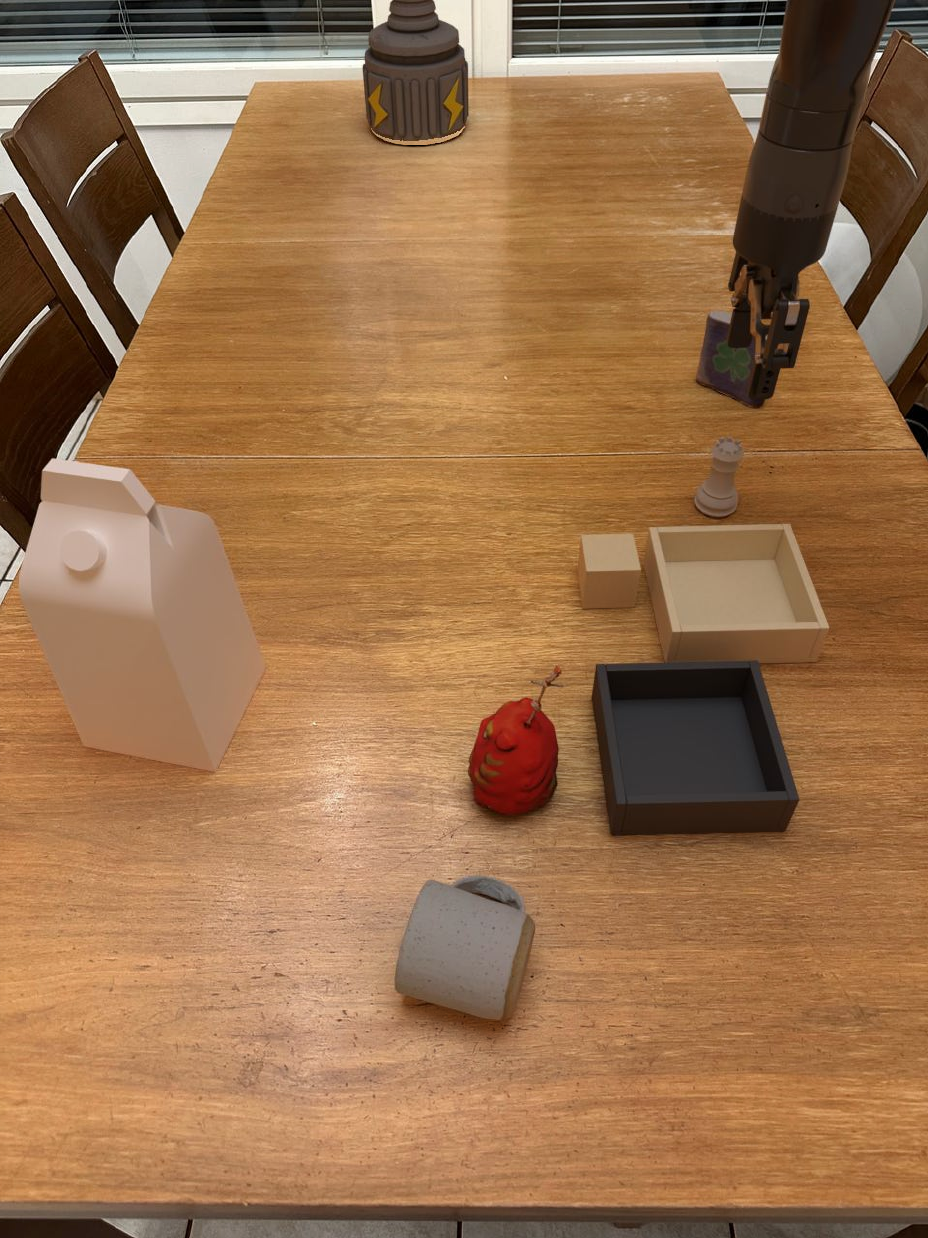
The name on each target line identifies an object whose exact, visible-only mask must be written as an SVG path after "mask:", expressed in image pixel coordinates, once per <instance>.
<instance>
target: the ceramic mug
mask: <svg viewBox="0 0 928 1238" xmlns="http://www.w3.org/2000/svg"><path fill="white" fill-rule="evenodd" d="M478 894H481V895H485V896H487V897H489V898H492V899H494V900H491V899H488V898H485V897H482V896H480V895H478ZM495 900H498V901H500V902H498V901H495ZM535 934H536V923H535V921H534V919H533V918H532V917H531V916H530V915H528V914H527V913H526V905H525V901H524V898H523V897H522V896H521V894H520V893H519V892H518V890H517V889H515V888H514V887H513V886H512V885H510V884H509V883H506V882H505V881H503V880H500V879H497V878H496V877H493V876H487V875H481V874H479V875H477V874H475V875H474V874H473V875H467V876H465V877H460V879H457V880H455V881H454V882H452V883H451V884H450V885H449V884H446V883H444V882H441V881H438V880H435V879H428V880H426V882H424V884H423V885H422V887H421V889H420V891H419V892H418V895H417V897H416V898H415V902H414V904H413V907H412V909H411V912H410V914H409V918H408V921H407V924H406V927H405V930H404V933H403V936H402V938H401V939H402V940H401V942H400V945H399V951H398V958H397V961H396V966H395V970H394V989H395V992H397V993H398V994H400V995H404V996H407V997H410V998H414V999H417V1000H420V1001H424V1002H428V1003H430V1004H434V1005H438V1006H441V1007H444V1008H447V1009H448V1008H449V1009H451V1010H456V1011H460V1012H463V1013H466V1014H468V1015H472V1016H474V1017H478V1018H481V1019H486V1020H494V1021H495V1020H496V1021H506V1020H508V1019H510V1018H511V1017H513V1015H514V1013H515V1011H516V1008H517V1004H518V1002H519V998H520V994H521V991H522V988H523V987H522V986H523V983H524V980H525V973H526V971H527V968H528V964H529V959H530V954H531V951H532V946H533V943H534V939H535Z"/></svg>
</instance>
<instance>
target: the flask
mask: <svg viewBox="0 0 928 1238" xmlns="http://www.w3.org/2000/svg"><path fill="white" fill-rule="evenodd" d="M731 316H732V313H730V312H727V311H723V310H712V311H710V312H709V313H708V315H707V317H706V320H705V321H706V322H705V323H706V324H705V325H706V326H705V329H704V335H703V336H704V337H703V340H702V347H701V350H700V356H699V360H698V361H699V362H698V366H697V370H696V374H695V381H696V380H697V381H696V382H697V383H698V384H699V385H701V384H703V385H704V386H707V388H709V387H710V388H709V389H711V388H712V389H711V390H713V389H715V390H716V391H719V392H721V393H724V394H726V395H727V397H731V399H732V398H735V399H737V400H736V401H738V400H739V403H740V404H744V405H745V406H747V407H749V408H752V409H753V408H754V409H755V408H756V409H758V408H757V407H760V406H762V405H763V404H765V401H766V399H756V400H752V399H750V398H749V396H748V394H747V388H748V384H749V380H750V376H751V372H752V368H753V364H754V360H755V352H756V338H755V336H753V337H752V341H751V344H750V346H749V347H747V348H730V347H728V344H727V342H726V339H727V335H728V330H729V326H730V321H731ZM767 336H768V335H766V341H767ZM775 349H778V345H777V346H776V348H775ZM704 386H703V387H704ZM716 391H715V392H716ZM721 395H722V396H724V395H723V394H721ZM735 399H734V400H735ZM763 406H764V405H763ZM763 406H762V407H763ZM760 408H761V407H760Z"/></svg>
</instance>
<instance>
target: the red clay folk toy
mask: <svg viewBox="0 0 928 1238" xmlns="http://www.w3.org/2000/svg"><path fill="white" fill-rule="evenodd" d="M550 673H551V674H550V675H549V677H547V676H546V677H545V678H543V680H542V682H538V681H534V680H530V683H532V684H534V685H539V686H542V688H541V692H540V694H539V695H538V698H537V699H533V698H531V697H527V696H525V697H523V698H520V699H519V700H515V701H513V700H509V701H507V702H505V703H503V704H502V705H501V706H500V707H499V708H498V709H497V710H496V711H495V712H494V713H493V714H491V715H489V716H487V717H484V718H483V719H482V720H481V721H480V725H479V727H478V728H479V729H478V732H477V736H476V739H475V741H474V745H473V747H472V750H471V752H470V755H469V757H468V768H467V776H468V777H469V778H470V782H471V784H472V785H473V795H472V796H473V799H474V802H475V803H476V805H477V806H479V807H481V808H485V809H491V810H492V811H494V812H496V813H497V814H500V815H504V816H505V815H506V816H512V815H519V814H523V813H527V812H529V811H530V810H532V809H534V808H536V807H537V806H541V805H545V804H547V803H548V802H549V801H550V800H551V798H552V797H553V795H554V794H555V791H556V789H557V786H558V776H557V770H558V766H559V749H560V748H559V742H558V737H557V732H556V728H555V724H554V723H553V722H552V720H551V719H550V718H549V717H548V716H547V714H546V713H545V712H544V711H542V703H541V701H542V698H543V695H544V693H545V691H546V689H547V688H549V687H555V688H556V687H557V688H564V685H563V683H553V682H554V681H555V680H556V679H557V678H559V677H561V675H562V668H561V667H560V666H559V665H556V666H555V667H554V668H552V670H551V672H550Z"/></svg>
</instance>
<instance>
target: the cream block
mask: <svg viewBox="0 0 928 1238" xmlns="http://www.w3.org/2000/svg"><path fill="white" fill-rule="evenodd" d="M637 548H638V547H637V544H636V538H635V534H634V533H594V534H591V533H589V534H580V539H579V548H578V549H579V551H578V560H577V569H576V571H577V572H576V573H577V581H578V587H579V594H580V601H581V602H580V603H581V609H582V610H584V609H586V610H587V609H622V608H623V609H625V608H627V609H630V608H635V607H636V602H637V596H638V590H639V585H640V579H641V573H642V569H641V564H640V563H641V562H640V558H639V554H638V549H637Z"/></svg>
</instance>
